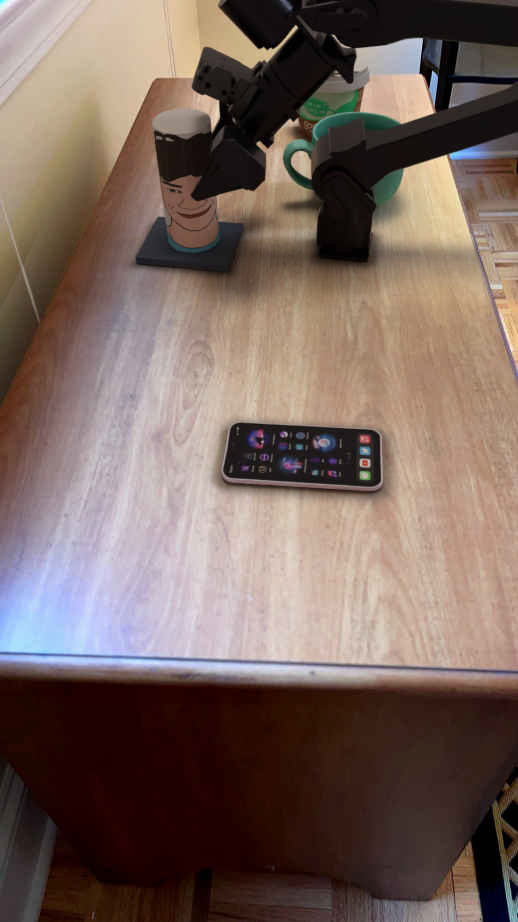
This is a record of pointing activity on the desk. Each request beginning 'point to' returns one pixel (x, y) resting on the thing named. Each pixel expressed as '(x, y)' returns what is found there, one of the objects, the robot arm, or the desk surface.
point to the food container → (332, 100)
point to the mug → (370, 120)
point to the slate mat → (212, 259)
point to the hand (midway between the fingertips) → (197, 179)
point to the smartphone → (303, 456)
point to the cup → (185, 178)
